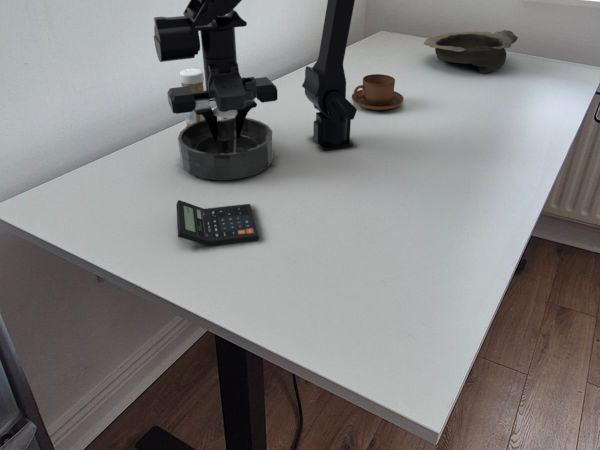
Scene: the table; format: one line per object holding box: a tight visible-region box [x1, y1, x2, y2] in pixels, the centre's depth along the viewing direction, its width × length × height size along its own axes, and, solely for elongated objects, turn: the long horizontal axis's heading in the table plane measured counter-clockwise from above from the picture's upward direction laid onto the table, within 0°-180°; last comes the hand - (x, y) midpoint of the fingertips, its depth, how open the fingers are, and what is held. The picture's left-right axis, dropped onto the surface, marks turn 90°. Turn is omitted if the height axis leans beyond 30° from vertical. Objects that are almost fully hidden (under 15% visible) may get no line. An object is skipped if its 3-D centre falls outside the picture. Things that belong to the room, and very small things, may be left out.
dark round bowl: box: [177, 117, 274, 181], centre depth 103 cm, size 17×17×6 cm
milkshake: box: [212, 106, 238, 153], centre depth 101 cm, size 4×5×10 cm
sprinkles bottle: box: [179, 68, 205, 127], centre depth 111 cm, size 5×5×14 cm
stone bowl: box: [422, 29, 519, 74], centre depth 153 cm, size 25×25×9 cm
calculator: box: [175, 199, 260, 247], centre depth 84 cm, size 9×12×3 cm
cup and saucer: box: [351, 73, 404, 111], centre depth 127 cm, size 12×12×6 cm
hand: (226, 139), depth 102 cm, fingers closed on milkshake, 4 cm apart
